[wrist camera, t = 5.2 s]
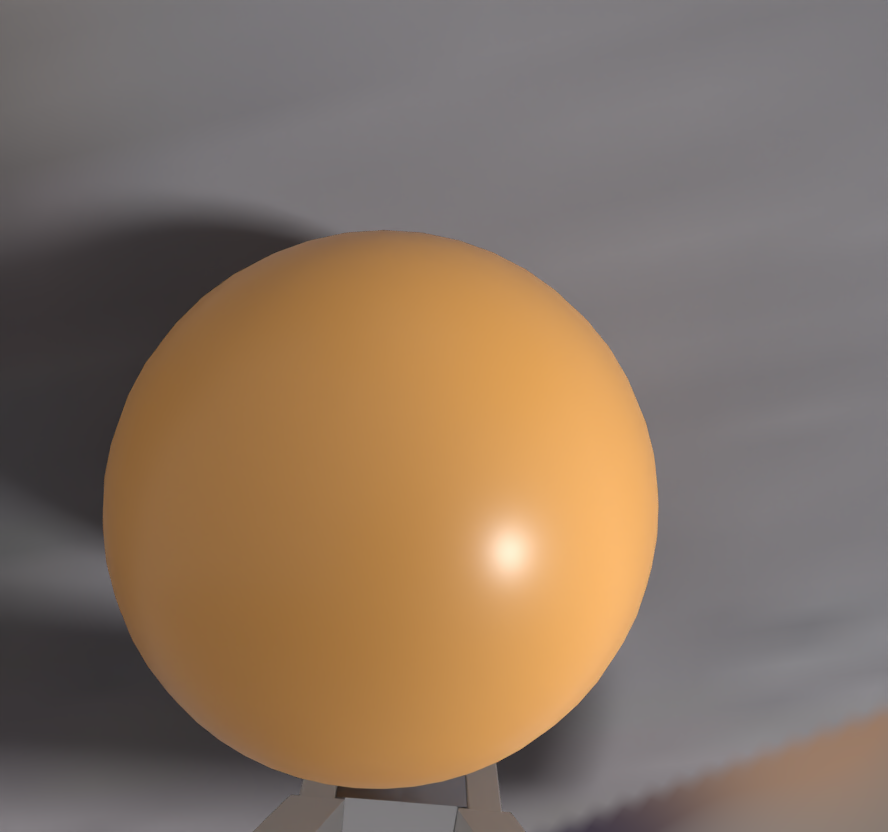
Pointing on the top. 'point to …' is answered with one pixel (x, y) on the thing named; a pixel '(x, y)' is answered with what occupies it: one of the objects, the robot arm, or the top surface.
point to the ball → (380, 509)
